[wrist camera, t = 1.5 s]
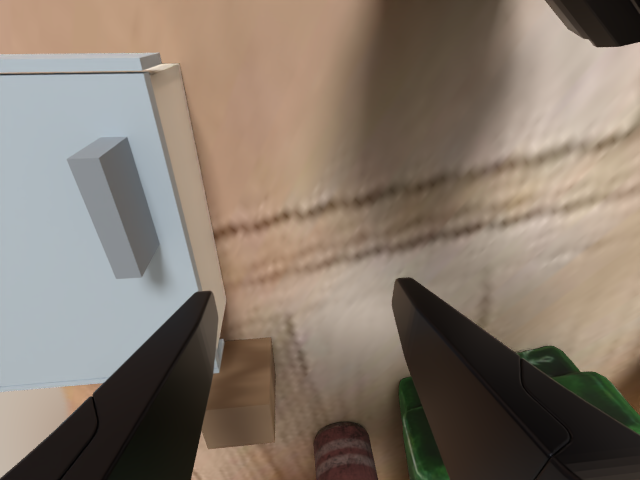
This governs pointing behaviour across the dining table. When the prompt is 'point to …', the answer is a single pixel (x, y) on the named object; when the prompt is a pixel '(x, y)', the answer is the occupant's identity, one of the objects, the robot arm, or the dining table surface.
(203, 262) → the box
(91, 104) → the lid
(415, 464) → the box
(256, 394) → the walnut block
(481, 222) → the dining table surface
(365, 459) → the can
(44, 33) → the dining table surface
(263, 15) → the dining table surface
